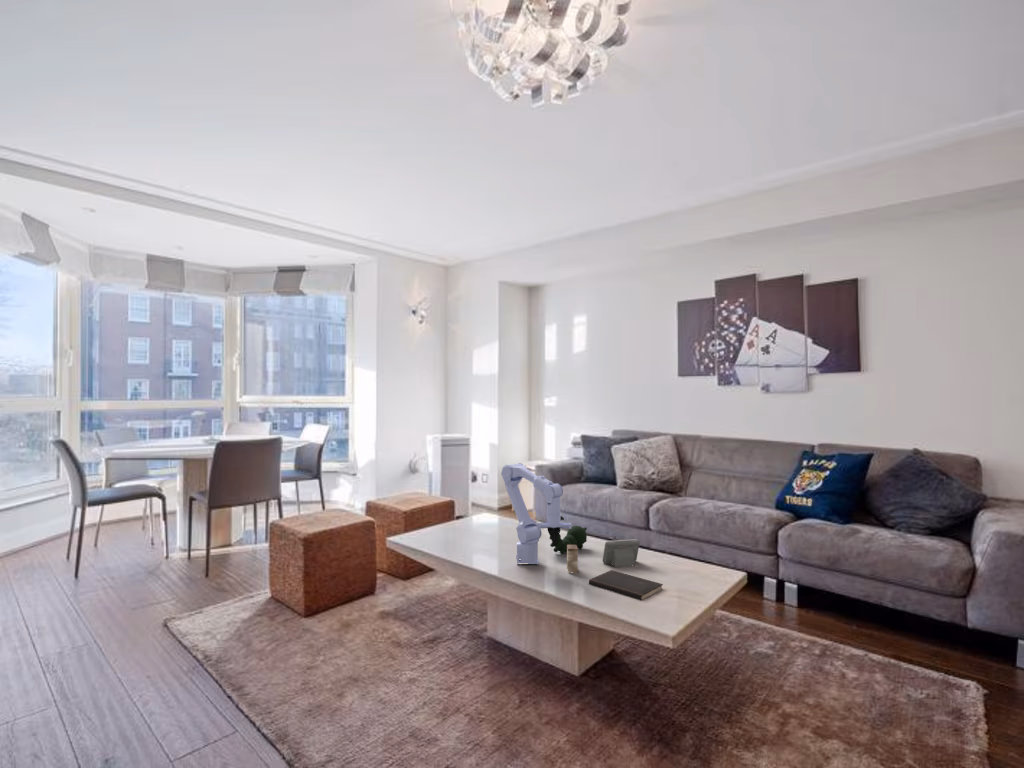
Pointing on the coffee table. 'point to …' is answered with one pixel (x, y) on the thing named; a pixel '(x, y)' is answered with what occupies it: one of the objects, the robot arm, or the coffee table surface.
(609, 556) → the digital clock
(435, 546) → the coffee table surface
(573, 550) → the beech block
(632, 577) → the hardcover book
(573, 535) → the toy figurine
